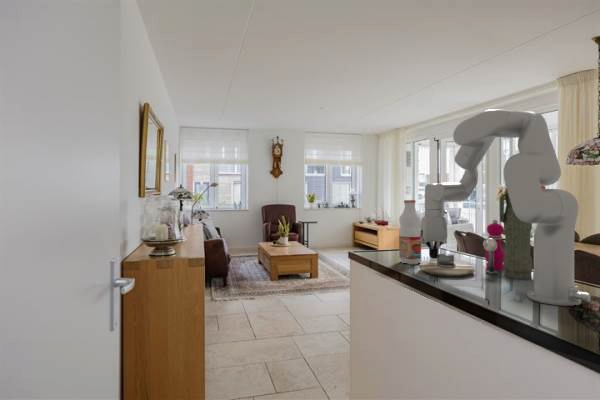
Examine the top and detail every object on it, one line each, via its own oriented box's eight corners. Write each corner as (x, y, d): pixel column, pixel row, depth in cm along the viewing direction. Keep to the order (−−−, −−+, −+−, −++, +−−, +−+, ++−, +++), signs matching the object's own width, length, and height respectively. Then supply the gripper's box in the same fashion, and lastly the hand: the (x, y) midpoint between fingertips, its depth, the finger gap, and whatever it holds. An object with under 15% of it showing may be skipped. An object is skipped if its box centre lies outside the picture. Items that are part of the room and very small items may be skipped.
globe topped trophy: (500, 273, 139) (500, 238, 139) (494, 275, 137) (494, 239, 137) (488, 271, 144) (488, 237, 144) (482, 272, 142) (481, 237, 142)
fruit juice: (402, 260, 170) (402, 199, 170) (423, 262, 165) (423, 199, 165) (396, 263, 162) (396, 200, 162) (418, 265, 157) (417, 200, 157)
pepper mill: (508, 268, 149) (508, 219, 149) (499, 270, 145) (499, 220, 144) (491, 266, 155) (491, 218, 154) (481, 268, 151) (481, 219, 150)
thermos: (542, 279, 129) (542, 180, 129) (508, 280, 129) (508, 180, 129) (526, 274, 138) (526, 181, 138) (495, 274, 138) (494, 181, 138)
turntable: (483, 275, 132) (483, 263, 132) (425, 274, 134) (425, 263, 134) (464, 264, 152) (464, 254, 152) (414, 264, 154) (414, 254, 154)
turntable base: (478, 273, 140) (478, 271, 140) (449, 278, 132) (449, 276, 132) (443, 266, 154) (443, 264, 154) (415, 270, 146) (415, 268, 146)
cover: (458, 268, 139) (458, 256, 139) (439, 267, 140) (439, 256, 140) (452, 264, 146) (452, 253, 146) (434, 264, 147) (434, 253, 147)
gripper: (447, 212, 155) (446, 255, 156) (412, 212, 154) (412, 256, 155) (456, 214, 148) (455, 259, 148) (420, 214, 146) (419, 260, 147)
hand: (433, 257), depth 151 cm, fingers closed
